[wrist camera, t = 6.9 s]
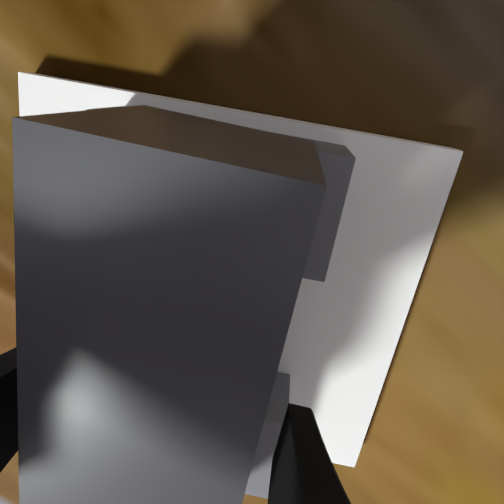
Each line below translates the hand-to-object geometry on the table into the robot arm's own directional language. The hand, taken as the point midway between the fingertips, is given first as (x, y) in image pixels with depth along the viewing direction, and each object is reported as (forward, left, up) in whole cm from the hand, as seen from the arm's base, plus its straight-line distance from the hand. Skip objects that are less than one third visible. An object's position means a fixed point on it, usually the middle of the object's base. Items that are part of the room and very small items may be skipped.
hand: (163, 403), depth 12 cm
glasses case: (0, 0, -3) cm, 3 cm away
